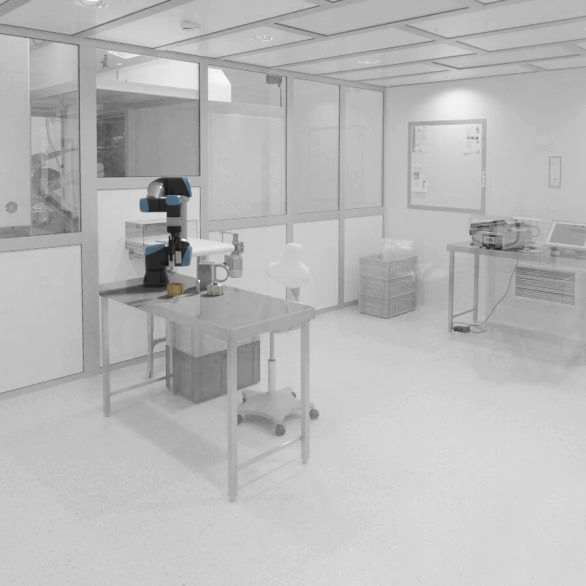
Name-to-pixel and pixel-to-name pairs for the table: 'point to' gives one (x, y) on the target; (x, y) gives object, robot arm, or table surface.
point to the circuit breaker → (206, 274)
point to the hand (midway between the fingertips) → (175, 265)
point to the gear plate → (197, 287)
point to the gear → (215, 289)
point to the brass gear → (175, 289)
